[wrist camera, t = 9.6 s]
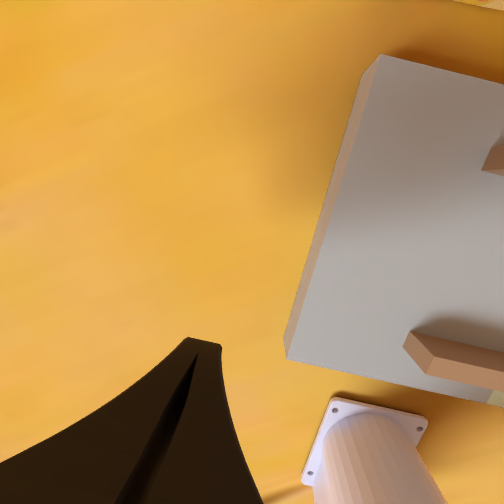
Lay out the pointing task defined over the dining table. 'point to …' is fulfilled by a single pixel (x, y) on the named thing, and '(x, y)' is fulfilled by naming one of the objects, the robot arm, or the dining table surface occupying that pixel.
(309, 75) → the dining table surface
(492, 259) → the tunnel deck
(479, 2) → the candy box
